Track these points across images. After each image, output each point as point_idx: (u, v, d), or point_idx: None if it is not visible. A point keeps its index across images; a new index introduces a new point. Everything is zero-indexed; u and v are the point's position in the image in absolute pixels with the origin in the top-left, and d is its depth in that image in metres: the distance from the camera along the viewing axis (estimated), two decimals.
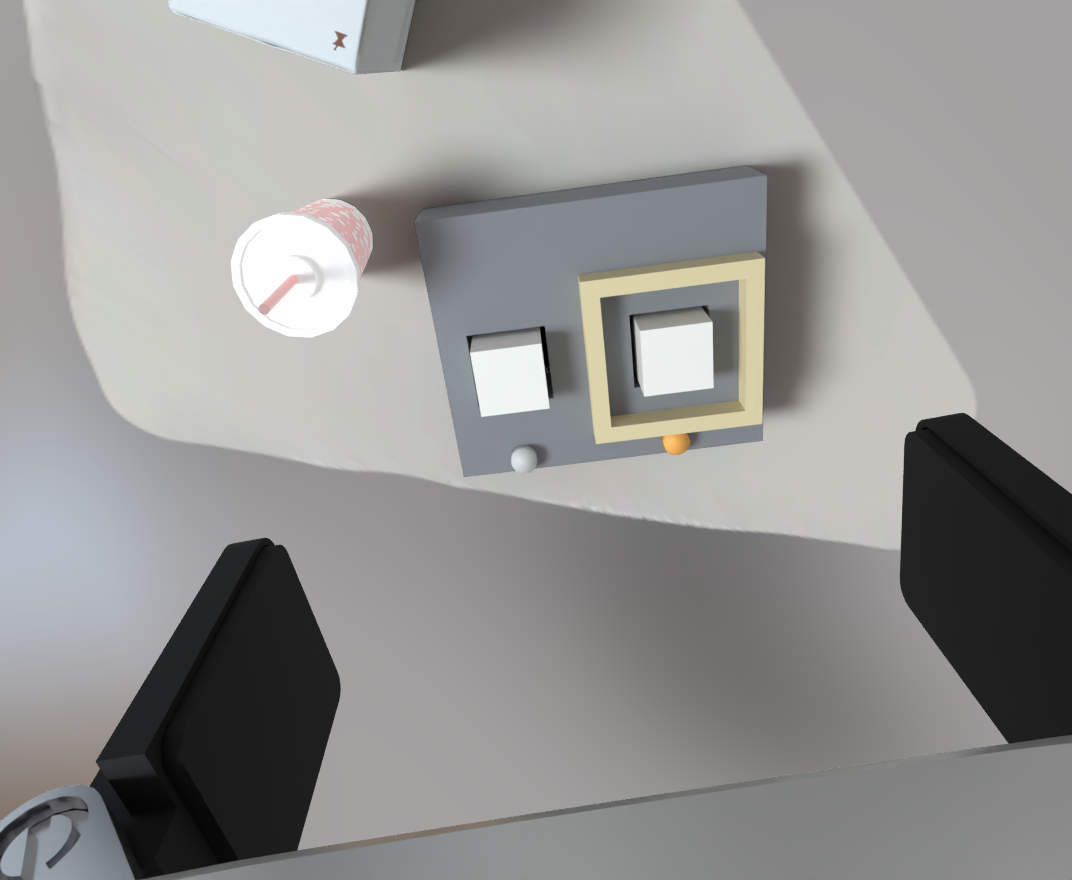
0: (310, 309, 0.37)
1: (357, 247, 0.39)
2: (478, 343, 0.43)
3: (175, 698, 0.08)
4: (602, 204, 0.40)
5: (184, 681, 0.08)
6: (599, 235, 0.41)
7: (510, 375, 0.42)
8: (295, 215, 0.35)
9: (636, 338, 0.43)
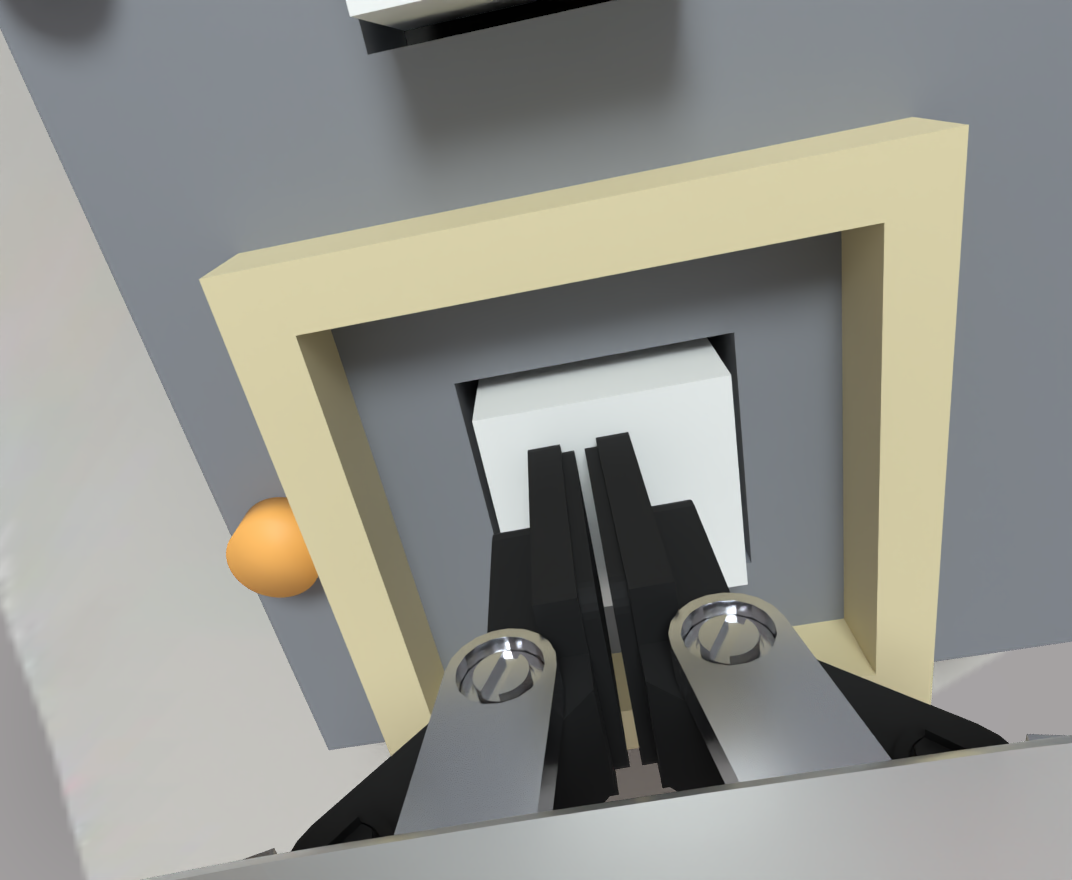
0: None
1: None
2: None
3: (573, 558, 0.09)
4: None
5: (568, 548, 0.09)
6: (1048, 188, 0.11)
7: None
8: None
9: None
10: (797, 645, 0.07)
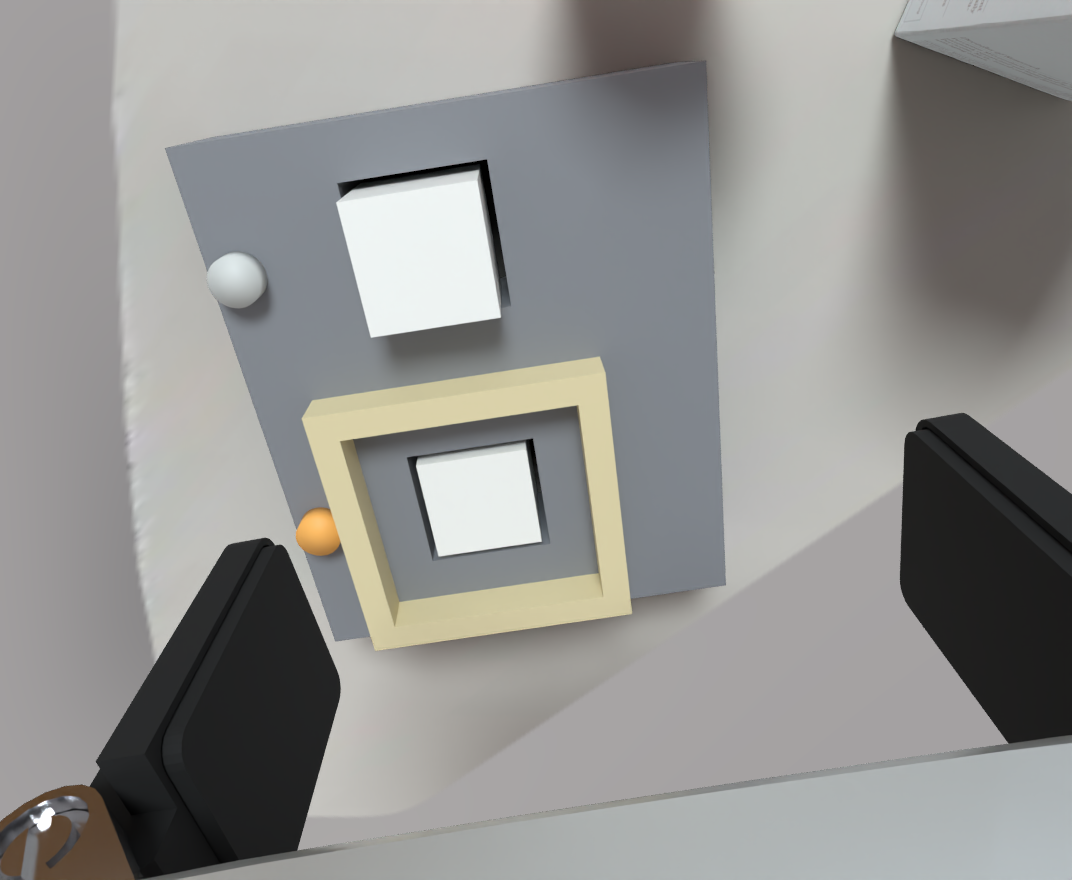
0: None
1: None
2: (480, 188, 0.22)
3: (175, 697, 0.08)
4: (707, 385, 0.26)
5: (184, 681, 0.08)
6: (660, 384, 0.26)
7: (433, 262, 0.22)
8: None
9: None
10: None
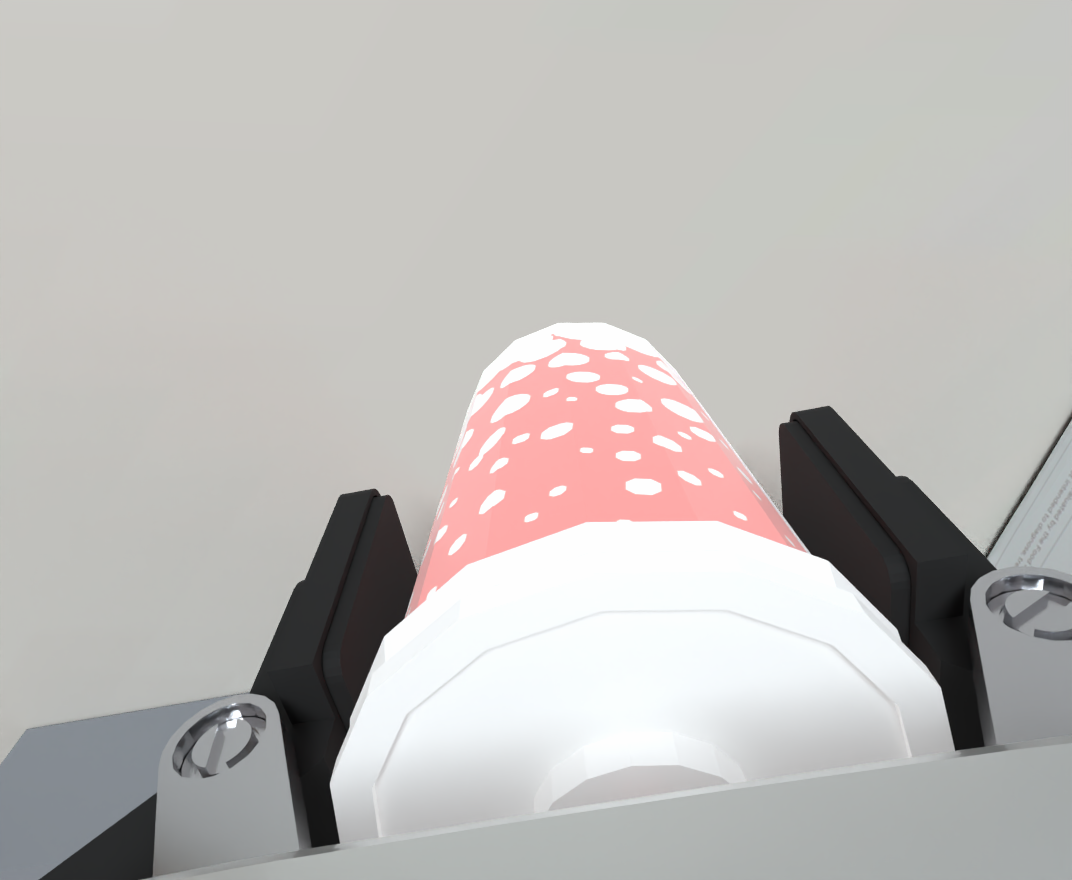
0: None
1: None
2: None
3: (327, 619, 0.09)
4: None
5: (331, 606, 0.09)
6: None
7: None
8: None
9: None
10: None
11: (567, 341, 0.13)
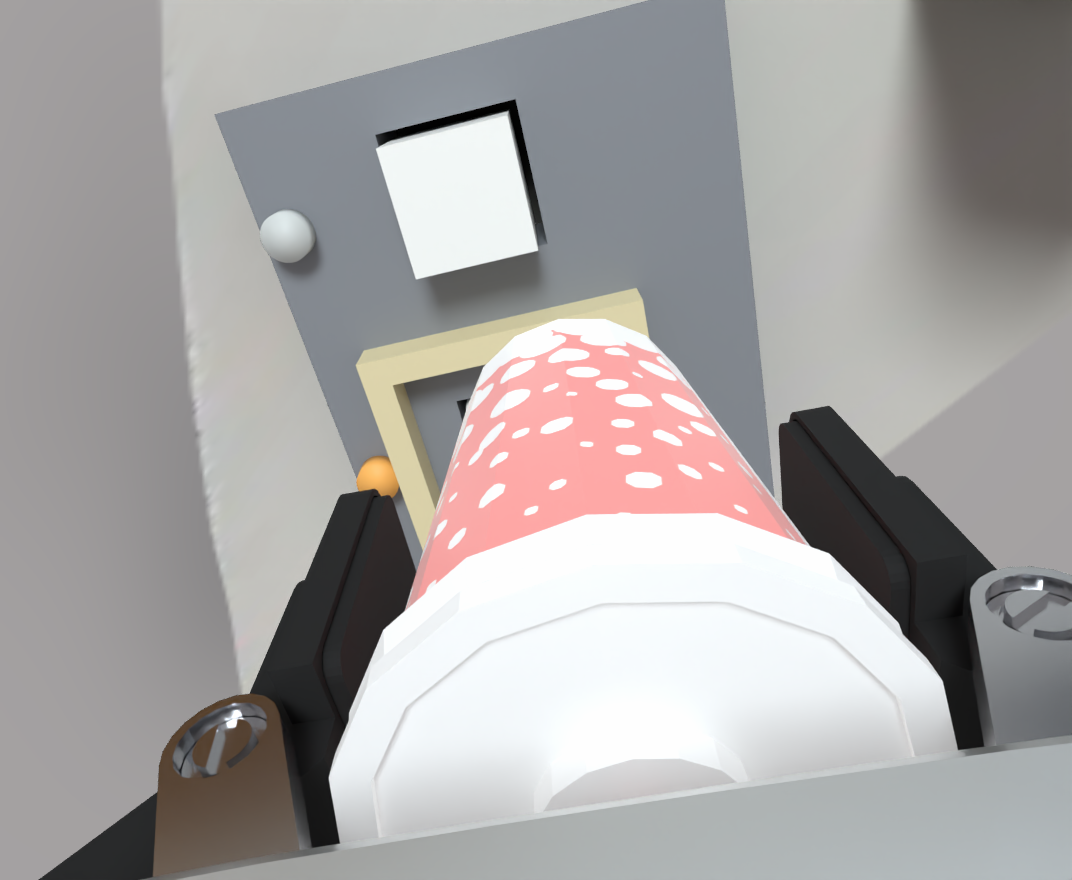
0: None
1: None
2: (511, 126, 0.23)
3: (327, 620, 0.09)
4: (744, 310, 0.26)
5: (331, 606, 0.09)
6: (698, 312, 0.26)
7: (470, 200, 0.23)
8: None
9: None
10: None
11: (567, 336, 0.13)
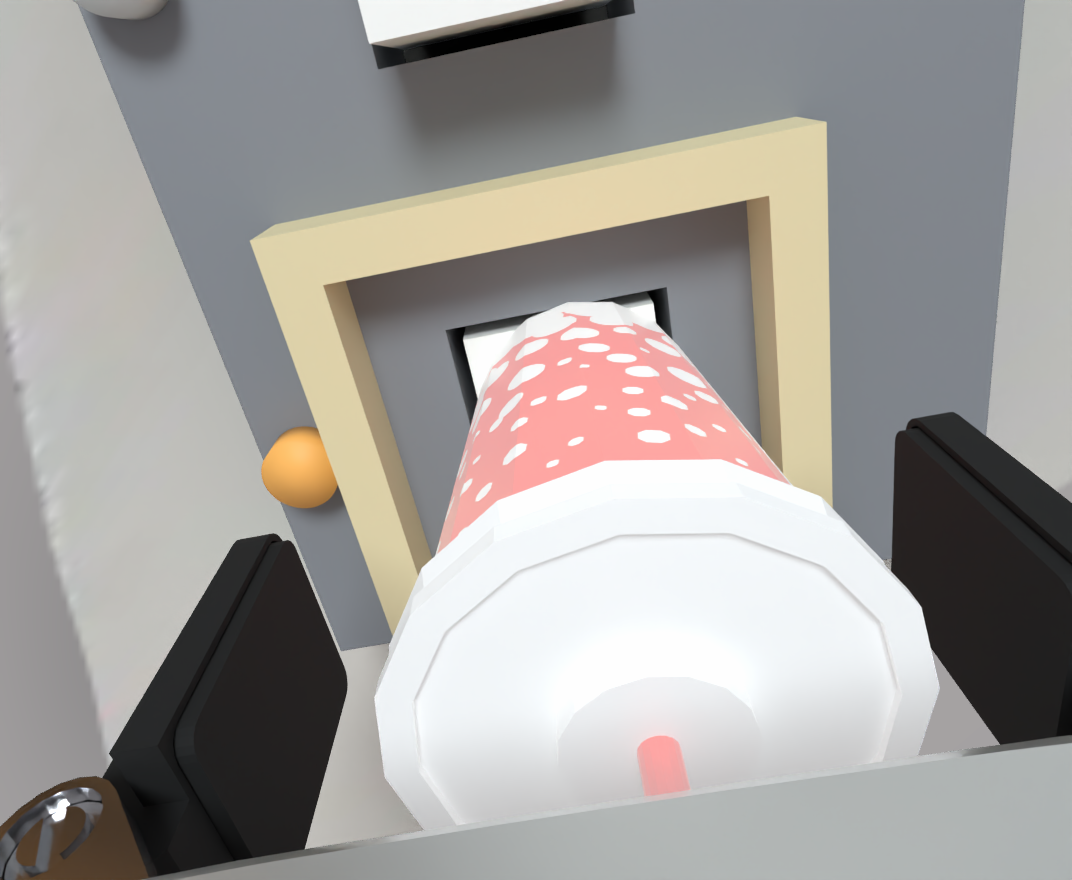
0: (512, 768, 0.08)
1: None
2: None
3: (187, 690, 0.08)
4: (989, 171, 0.14)
5: (195, 674, 0.08)
6: (904, 172, 0.14)
7: None
8: (916, 737, 0.08)
9: None
10: None
11: (577, 317, 0.14)
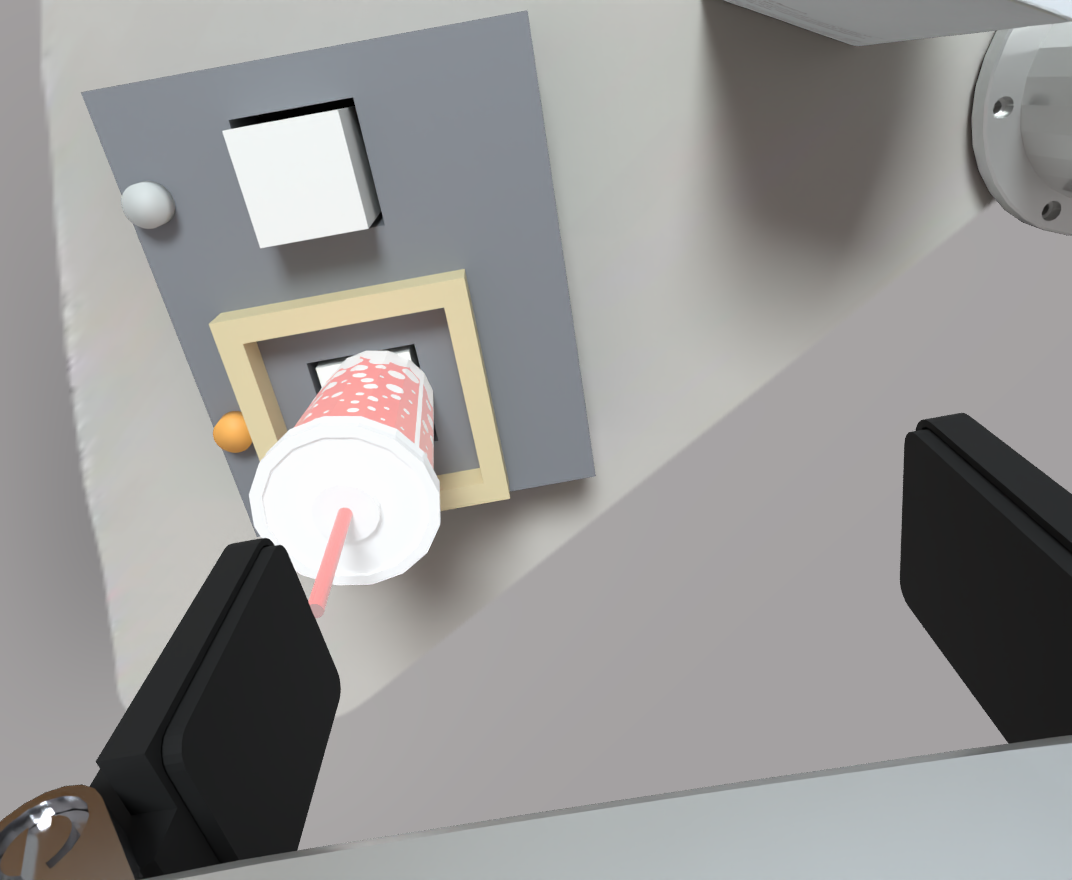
0: (299, 524, 0.24)
1: None
2: (346, 120, 0.27)
3: (174, 698, 0.08)
4: (559, 293, 0.31)
5: (184, 681, 0.08)
6: (519, 293, 0.30)
7: (307, 181, 0.26)
8: (439, 514, 0.24)
9: None
10: None
11: (364, 359, 0.30)
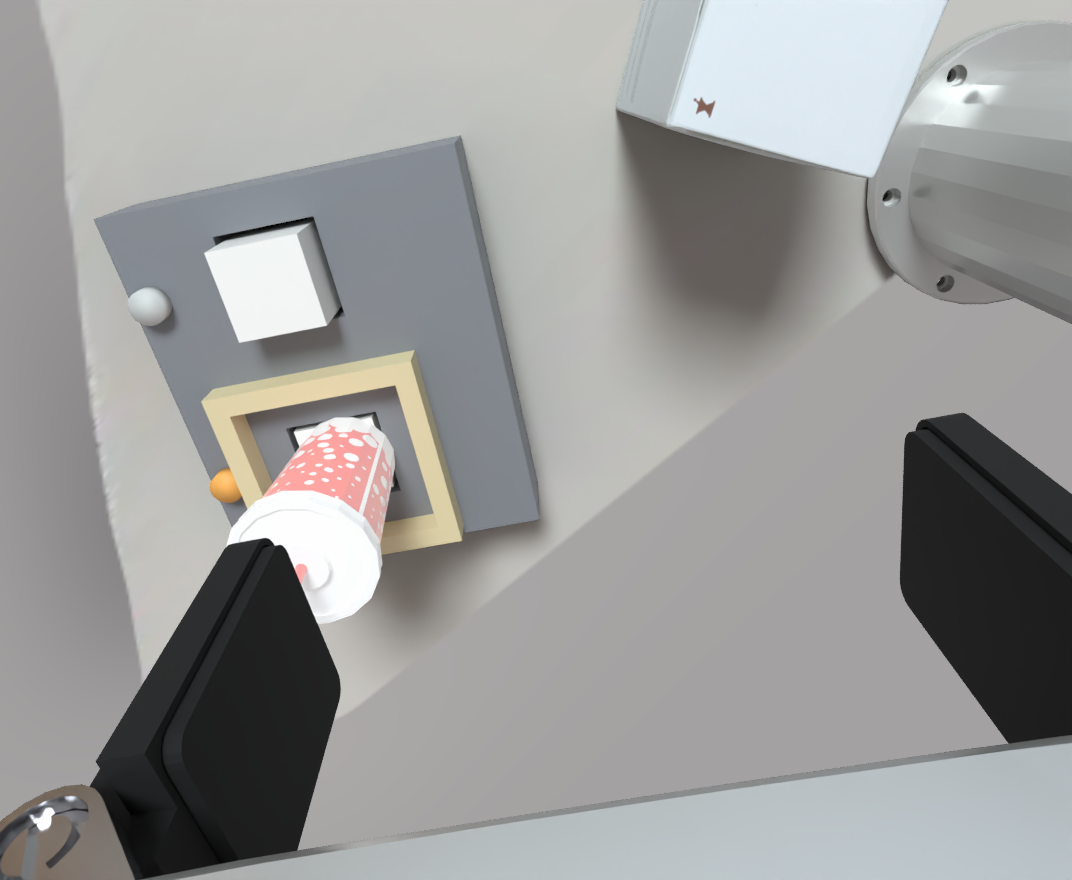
0: None
1: None
2: (307, 237, 0.32)
3: (174, 697, 0.08)
4: (497, 368, 0.36)
5: (184, 680, 0.08)
6: (462, 368, 0.36)
7: (275, 290, 0.32)
8: (379, 567, 0.30)
9: None
10: None
11: (331, 427, 0.35)
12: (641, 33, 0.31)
